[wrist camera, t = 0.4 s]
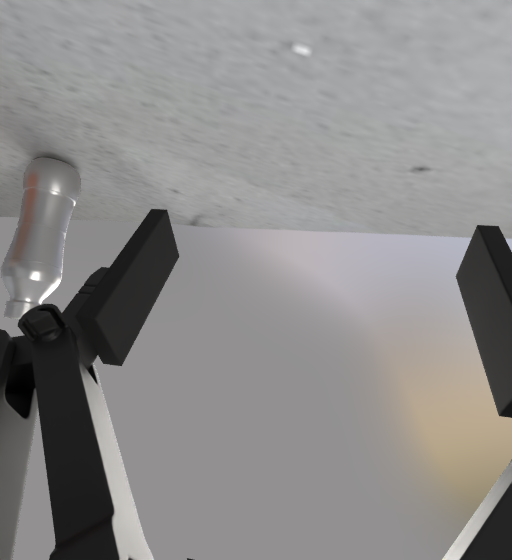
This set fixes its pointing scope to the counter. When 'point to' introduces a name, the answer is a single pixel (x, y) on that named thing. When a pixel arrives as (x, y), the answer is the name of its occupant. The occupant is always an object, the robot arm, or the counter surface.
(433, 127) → the counter surface
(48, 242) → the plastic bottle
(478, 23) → the counter surface
